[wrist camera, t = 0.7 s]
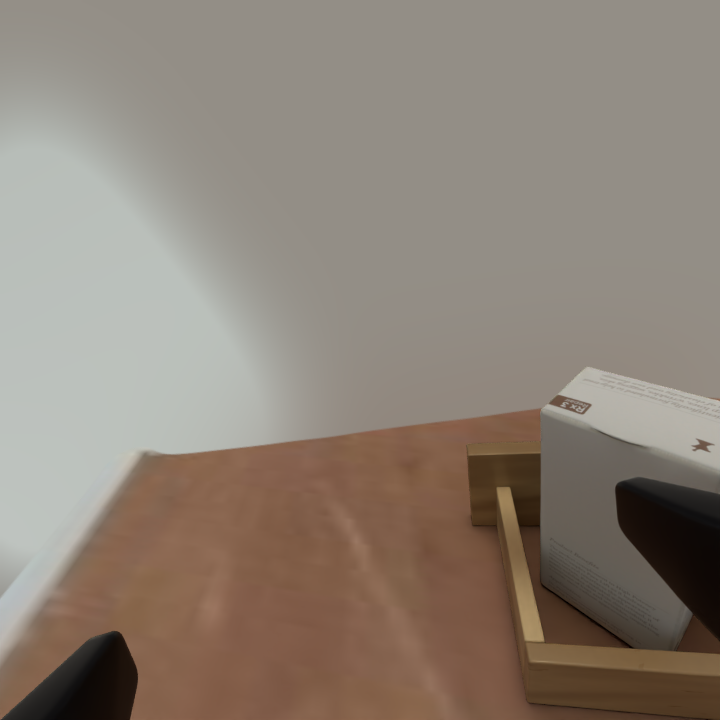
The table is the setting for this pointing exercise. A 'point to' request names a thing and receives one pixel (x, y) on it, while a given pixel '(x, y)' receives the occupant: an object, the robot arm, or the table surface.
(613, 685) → the wooden tray frame
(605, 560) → the cosmetic box
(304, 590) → the table surface
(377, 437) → the table surface
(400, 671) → the table surface
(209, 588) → the table surface
